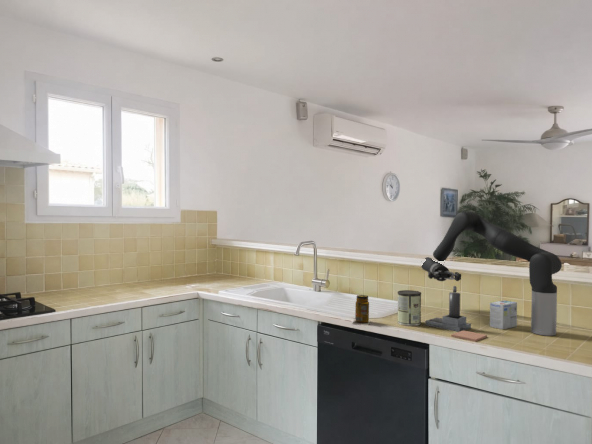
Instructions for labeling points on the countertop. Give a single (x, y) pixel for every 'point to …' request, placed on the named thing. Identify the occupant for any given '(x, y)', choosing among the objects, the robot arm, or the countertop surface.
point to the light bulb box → (503, 314)
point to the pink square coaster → (469, 335)
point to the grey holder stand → (449, 323)
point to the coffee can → (409, 307)
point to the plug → (454, 304)
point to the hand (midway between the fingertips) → (448, 278)
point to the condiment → (362, 310)
